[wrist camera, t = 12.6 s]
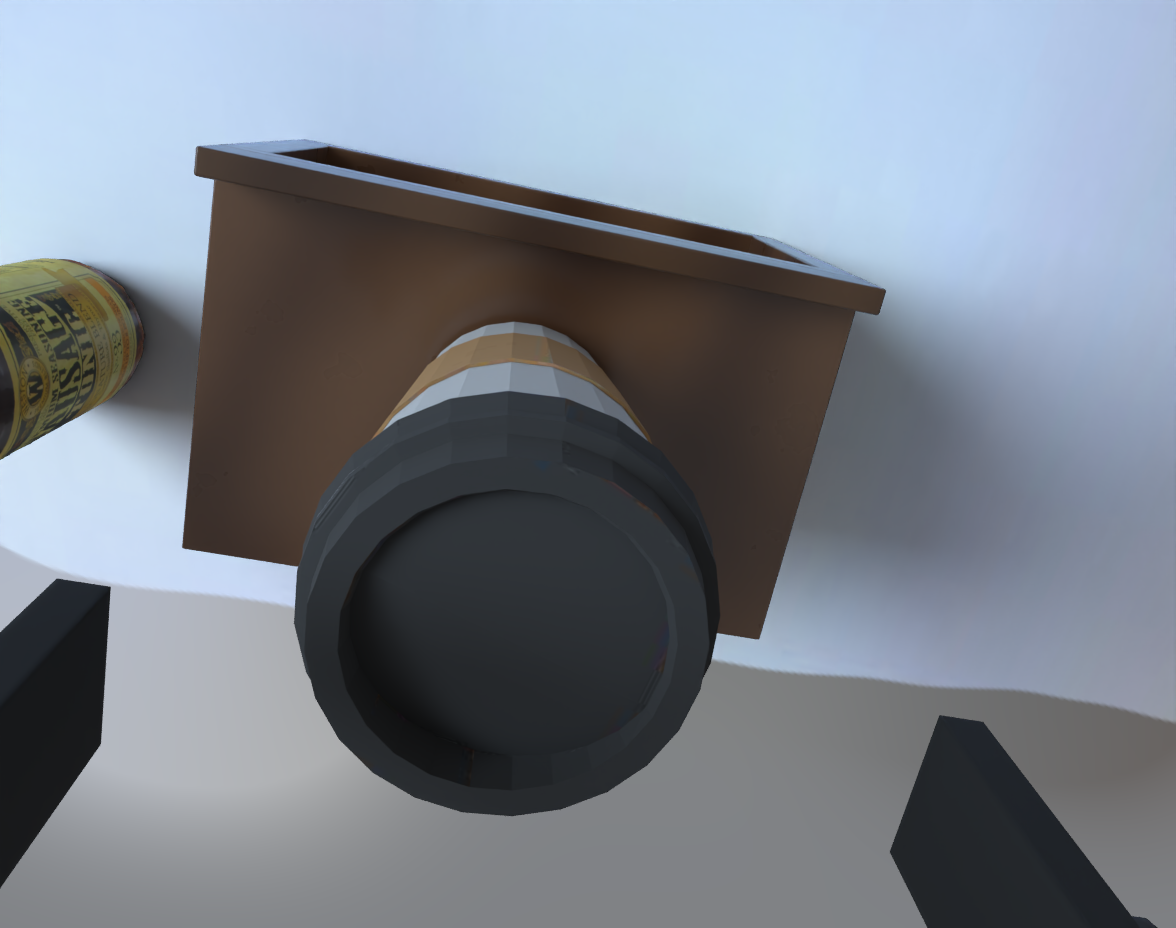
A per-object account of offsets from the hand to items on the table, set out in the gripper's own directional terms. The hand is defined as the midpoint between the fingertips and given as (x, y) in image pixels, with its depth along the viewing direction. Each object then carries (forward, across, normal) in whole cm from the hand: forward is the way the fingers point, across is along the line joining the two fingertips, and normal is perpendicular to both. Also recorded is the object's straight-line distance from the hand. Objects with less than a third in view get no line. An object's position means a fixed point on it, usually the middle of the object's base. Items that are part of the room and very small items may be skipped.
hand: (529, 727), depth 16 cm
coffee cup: (+18, 0, 0) cm, 18 cm away
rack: (+29, +1, 0) cm, 29 cm away
